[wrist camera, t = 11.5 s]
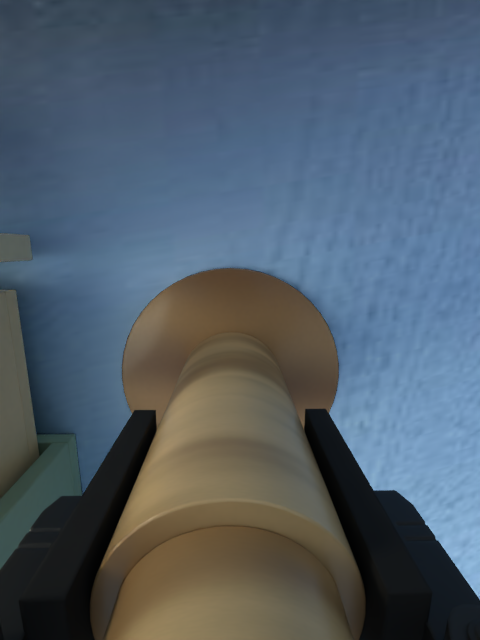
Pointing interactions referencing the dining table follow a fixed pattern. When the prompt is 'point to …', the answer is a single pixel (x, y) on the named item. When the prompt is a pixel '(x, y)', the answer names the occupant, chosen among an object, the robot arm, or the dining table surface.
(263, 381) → the pepper mill
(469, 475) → the dining table surface
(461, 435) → the dining table surface
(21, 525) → the cabinet
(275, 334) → the cork coaster
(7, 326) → the drawer
